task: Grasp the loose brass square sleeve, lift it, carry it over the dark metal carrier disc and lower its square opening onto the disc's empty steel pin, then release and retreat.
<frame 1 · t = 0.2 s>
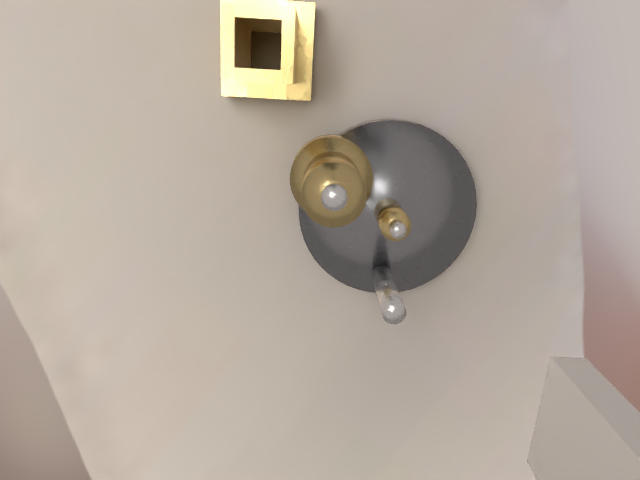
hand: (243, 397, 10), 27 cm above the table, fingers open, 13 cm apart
brass square sleeve: (269, 52, 33), on the table
carrier: (384, 206, 37), on the table
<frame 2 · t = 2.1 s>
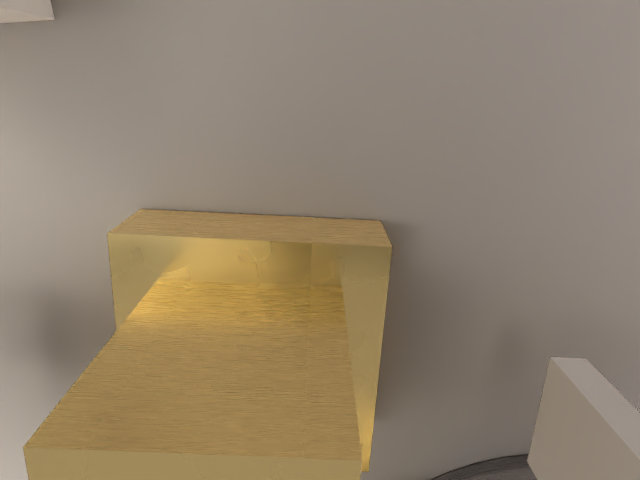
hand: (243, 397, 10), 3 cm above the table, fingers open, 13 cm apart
brass square sleeve: (259, 321, 13), on the table
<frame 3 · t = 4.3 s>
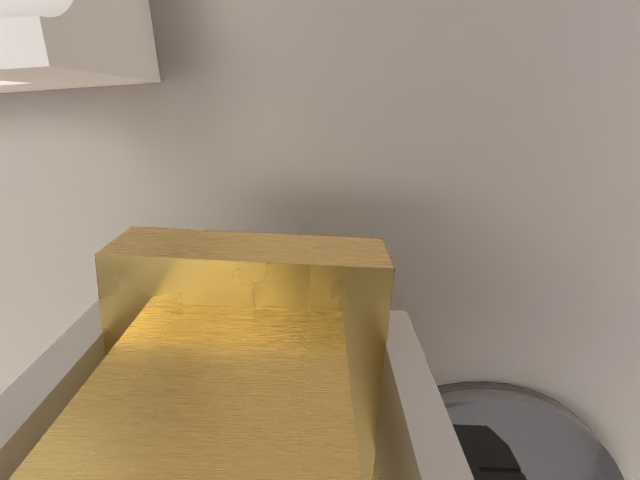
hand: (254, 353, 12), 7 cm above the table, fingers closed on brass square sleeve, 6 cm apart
brass square sleeve: (256, 343, 12), point 6 cm above the table, touching gripper
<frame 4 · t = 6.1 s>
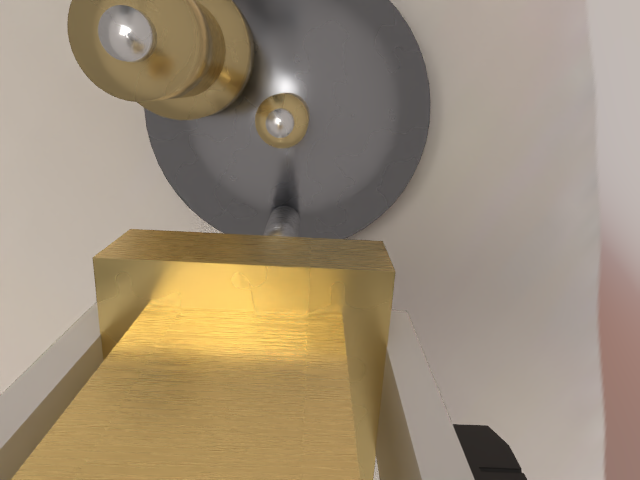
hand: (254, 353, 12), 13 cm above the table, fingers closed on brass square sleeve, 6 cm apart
brass square sleeve: (255, 346, 12), point 13 cm above the table, touching gripper
carrier: (289, 113, 23), on the table
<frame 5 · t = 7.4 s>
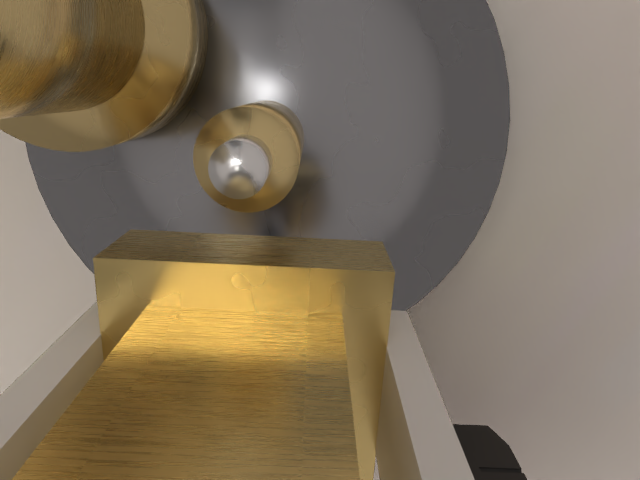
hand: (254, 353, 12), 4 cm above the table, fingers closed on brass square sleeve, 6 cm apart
brass square sleeve: (255, 346, 12), point 4 cm above the table, touching gripper
carrier: (272, 133, 14), on the table
when the fingers open (3 cm above the table, at t = 8.3 s): brass square sleeve drops 1 cm, resting on carrier.
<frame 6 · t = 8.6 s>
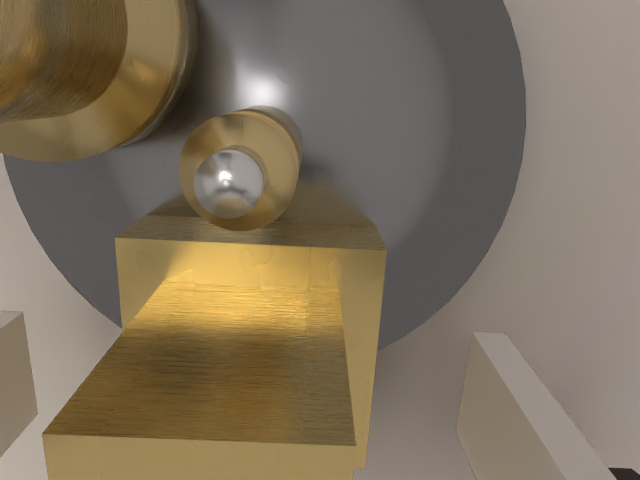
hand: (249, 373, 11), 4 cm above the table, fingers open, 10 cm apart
brass square sleeve: (260, 323, 13), point 1 cm above the table, touching carrier
carrier: (268, 140, 13), on the table
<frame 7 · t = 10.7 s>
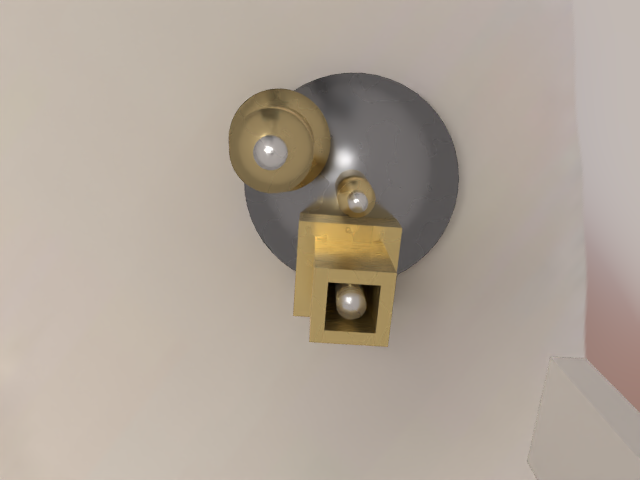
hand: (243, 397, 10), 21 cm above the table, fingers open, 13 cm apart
brass square sleeve: (344, 262, 30), point 1 cm above the table, touching carrier
carrier: (349, 181, 31), on the table
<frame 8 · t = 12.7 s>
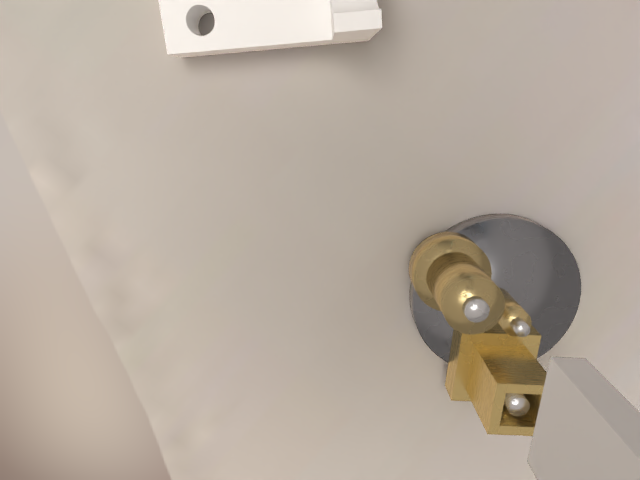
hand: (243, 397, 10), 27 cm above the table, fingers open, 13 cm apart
brass square sleeve: (486, 354, 39), point 1 cm above the table, touching carrier
carrier: (490, 291, 39), on the table
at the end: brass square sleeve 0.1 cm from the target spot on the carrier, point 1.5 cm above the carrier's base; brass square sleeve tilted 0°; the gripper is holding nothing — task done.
